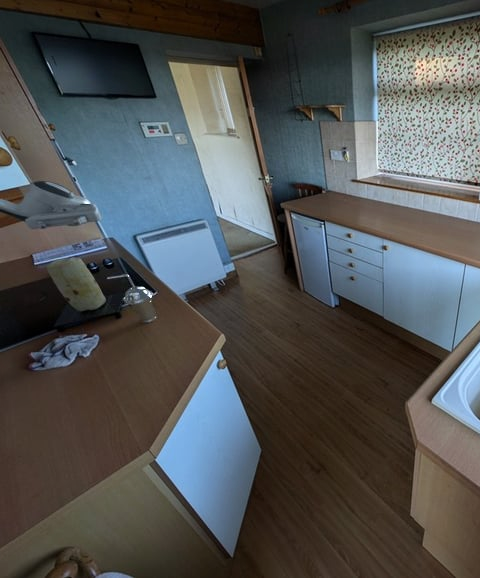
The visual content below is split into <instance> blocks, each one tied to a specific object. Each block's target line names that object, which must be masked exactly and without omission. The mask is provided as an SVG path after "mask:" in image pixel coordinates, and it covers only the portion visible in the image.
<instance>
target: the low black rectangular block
mask: <svg viewBox="0 0 480 578" xmlns="http://www.w3.org/2000/svg"><path fill="white" fill-rule="evenodd" d="M125 293H126V291H124V292H119V293H115V294H110V295H103V296H104V297H105V299H106V302H105V303H104V304H102V305H101V306H100V307H99V308H97V309H94V310H85V311H78V310H77V309H75V308H74V307H73V306H72V305H71V304H70V303H67V304H66V306H65V307H64V308H63V310H62V311H61V313H60V314H59V317H58V318H57V320H56V322H55V323H54V324H53V326H52V328H53V329H54V330H56V331H57V332H58V333H59V334H61V333H64V331H65V332H66V330H67V328H66V327H69V326H73V325H78V324H82V323H86V322H87V323H88V322H91V321H94V320H99V319H103V318H108V317H112V316H113V317H114V318H115V320H119V319H122V318H123V315H122V314H121V310H122V307H123V304H124V300H123V299H124V297H125ZM65 329H66V330H65ZM60 332H61V333H60Z"/></svg>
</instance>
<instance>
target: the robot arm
mask: <svg viewBox="0 0 480 578" xmlns="http://www.w3.org/2000/svg"><path fill="white" fill-rule="evenodd" d="M0 213H1V214H5V215H7V216H10V217H13V218H15V219H17V220H20V221H21V222H24V223H25V224H26V226H27V227H28V228H29V229H31V230H37V229H38V230H39V229H40V230H44V229H47V228H51V227H52V228H54V227H63V226H67V227H78V226H81V225H85V224H87V223H95V222H100V221H102V220H103V218H102V215H101V213H100V211H99V209H98V207H97V205H96V204H95V203H91V202H90V200H88V199H87V198H85V197H83V196H81V195H77V194H74V193H73V191H71V190H70V189H69V188H67V187H65V186H63V185H61V184H59V183H56V182H54V181H49V180H37V181H33V182H32V184H31V186H30V187H29V189H28V190H27V191H26V194H25V196H24V197H23V198H22V200H21V202H19V203H14V202H11V201H9V200H7V199H4V200H3V198H1V199H0Z"/></svg>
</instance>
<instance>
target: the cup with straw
mask: <svg viewBox="0 0 480 578" xmlns="http://www.w3.org/2000/svg"><path fill="white" fill-rule="evenodd" d="M119 278H127V280H128V282H129V284H130V286H131V287H130V288H128V289H127V290H126V291H125V297H124V299H123V300H124V301H123V304H126V305H128V306H129V307H130V308H132V310H133V311H134V312H135V314H136V315H137V316H138V318H139V319H140V320H141V321H142V323H143V324H148V323H151V322H152V323H153V322H154V321H156V320H157V319H158V316H157V311H156V309H155V306H154V303H153V295H154V293H153V291H152V290H150V289H147V288H146V287H144V286H139V285H137V286H135V284H134V283H133V280H132V279H131V276H130V275H129V274H120V275H113V276H107V277H106V280H112V279H119Z"/></svg>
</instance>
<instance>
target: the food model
mask: <svg viewBox="0 0 480 578" xmlns="http://www.w3.org/2000/svg"><path fill="white" fill-rule="evenodd" d="M45 267H46V271H47V272H48V273H49V275H50V277H51V279H52V281H53V283H54V285H55V286H56V288H57V290H58V291H59V292H60V294H61V295H62V296H63V298H64V299H65V300H66V301H67V303H68V304H71V305H72V306H73V307H74V308H75V309H77V310H78V311H85V310H94V309H97V308H99V307H100V306H101V305H102V304H104V303H105V302H106V299H105V297H104V296H105V295H104V294H103V292H102V290H101V288H100V286H99V284H98V282H97V281H96V278H95V277H94V276H93V274H92V272H91V271H90V269H88V267H87V266H86V264H85V263H84V261H83V260H82V258H79V257H68V258H67V257H66V258H60V259H55V260H53V261H51V262H49V263H48V264H46V266H45Z"/></svg>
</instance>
